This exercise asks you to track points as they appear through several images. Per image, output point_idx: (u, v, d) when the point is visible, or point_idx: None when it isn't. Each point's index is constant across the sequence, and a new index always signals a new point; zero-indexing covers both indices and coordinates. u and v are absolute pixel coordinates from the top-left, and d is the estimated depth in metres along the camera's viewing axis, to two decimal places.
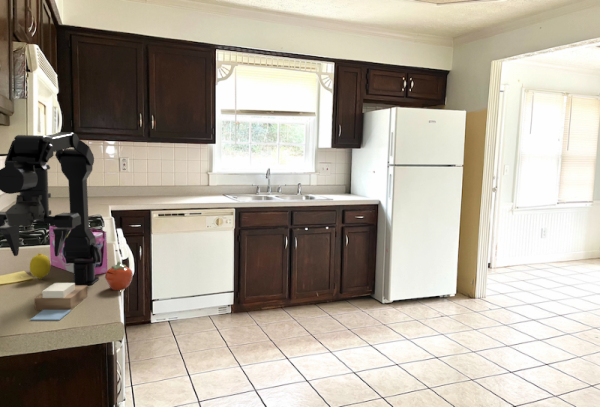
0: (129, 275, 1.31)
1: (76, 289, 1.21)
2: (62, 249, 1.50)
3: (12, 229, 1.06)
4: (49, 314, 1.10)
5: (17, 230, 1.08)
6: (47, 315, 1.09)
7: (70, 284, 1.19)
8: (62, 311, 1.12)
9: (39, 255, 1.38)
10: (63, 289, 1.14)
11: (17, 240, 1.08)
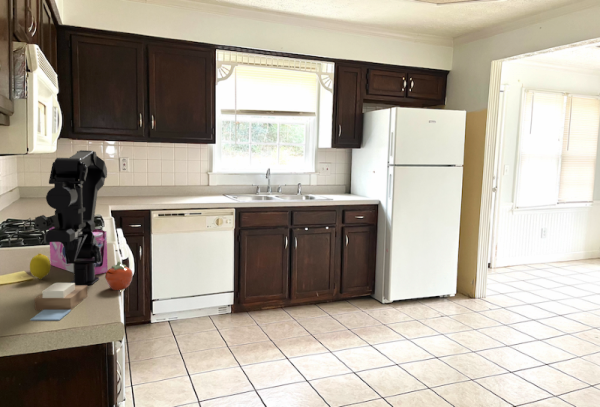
0: (129, 275, 1.31)
1: (76, 289, 1.21)
2: (62, 249, 1.50)
3: None
4: (49, 314, 1.10)
5: None
6: (47, 315, 1.09)
7: (70, 284, 1.19)
8: (62, 311, 1.12)
9: (39, 255, 1.38)
10: (63, 289, 1.14)
11: None
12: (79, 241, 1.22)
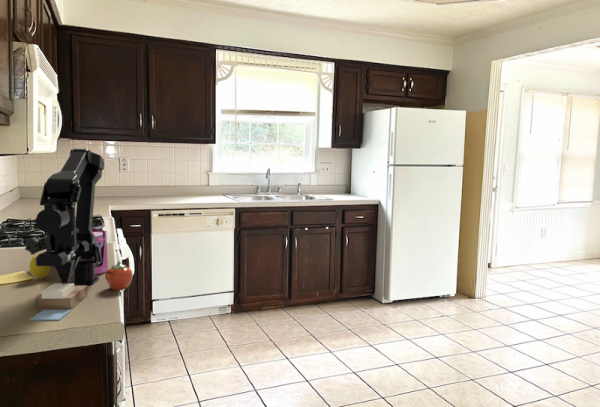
0: (129, 275, 1.31)
1: (76, 289, 1.21)
2: None
3: None
4: (49, 314, 1.10)
5: None
6: (47, 315, 1.09)
7: (69, 285, 1.18)
8: (62, 311, 1.12)
9: None
10: (62, 290, 1.14)
11: None
12: (72, 264, 1.18)
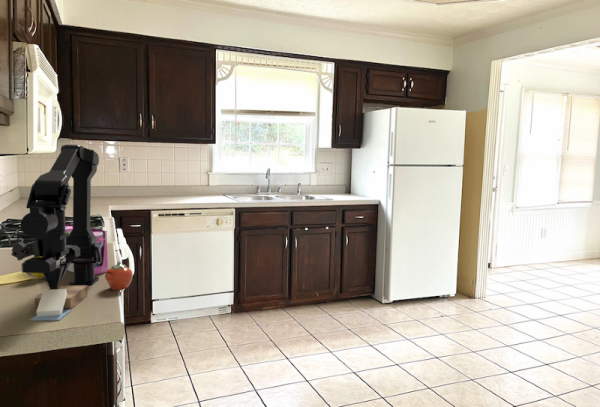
0: (129, 275, 1.31)
1: (76, 289, 1.21)
2: None
3: None
4: None
5: None
6: None
7: (62, 293, 1.12)
8: (62, 311, 1.12)
9: None
10: (58, 307, 1.09)
11: None
12: (61, 270, 1.12)
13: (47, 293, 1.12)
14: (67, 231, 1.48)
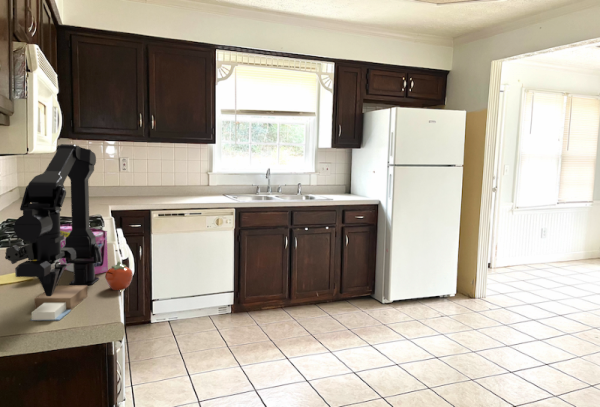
0: (129, 275, 1.31)
1: (76, 289, 1.21)
2: None
3: None
4: None
5: None
6: None
7: (61, 304, 1.12)
8: None
9: None
10: (54, 310, 1.07)
11: None
12: (56, 274, 1.09)
13: (46, 304, 1.12)
14: (67, 231, 1.48)
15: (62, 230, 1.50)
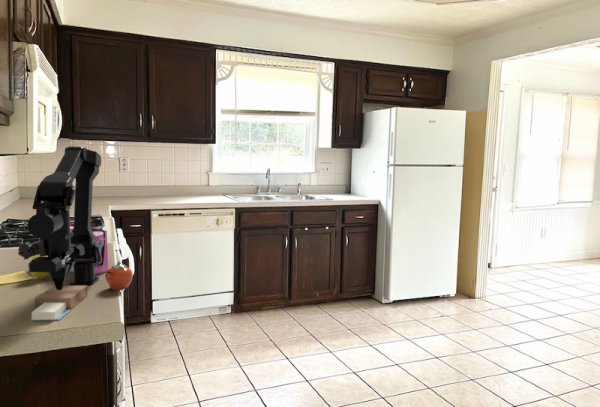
0: (129, 275, 1.31)
1: (76, 289, 1.21)
2: None
3: None
4: None
5: None
6: None
7: (61, 304, 1.12)
8: None
9: (39, 255, 1.38)
10: (54, 310, 1.07)
11: None
12: (66, 269, 1.15)
13: (46, 304, 1.12)
14: None
15: None
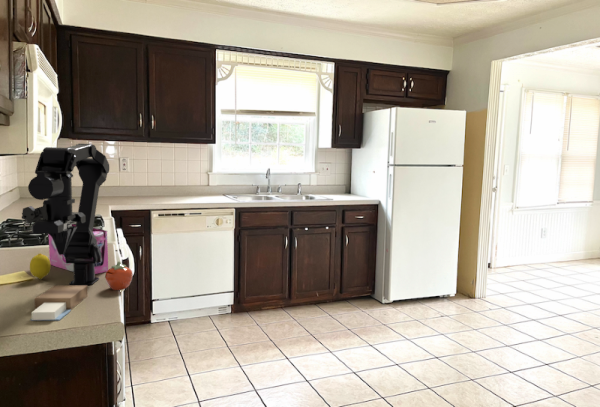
0: (129, 275, 1.31)
1: (76, 289, 1.21)
2: None
3: None
4: None
5: None
6: None
7: (61, 304, 1.12)
8: None
9: (39, 255, 1.38)
10: (54, 310, 1.07)
11: None
12: (68, 233, 1.19)
13: (46, 304, 1.12)
14: None
15: None
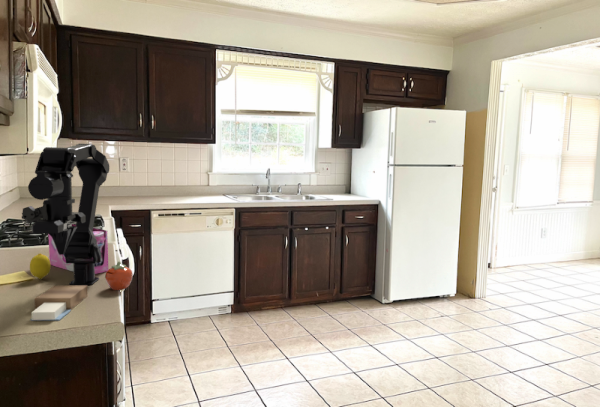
0: (129, 275, 1.31)
1: (76, 289, 1.21)
2: None
3: None
4: None
5: None
6: None
7: (61, 304, 1.12)
8: None
9: (39, 255, 1.38)
10: (54, 310, 1.07)
11: None
12: (68, 233, 1.19)
13: (46, 304, 1.12)
14: None
15: None
